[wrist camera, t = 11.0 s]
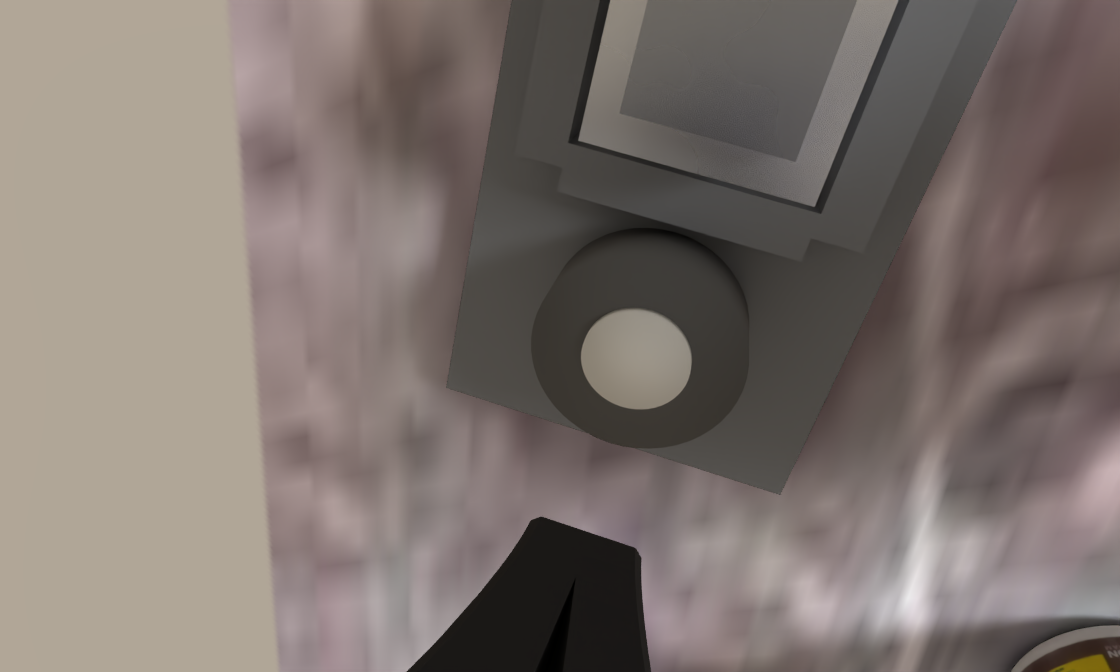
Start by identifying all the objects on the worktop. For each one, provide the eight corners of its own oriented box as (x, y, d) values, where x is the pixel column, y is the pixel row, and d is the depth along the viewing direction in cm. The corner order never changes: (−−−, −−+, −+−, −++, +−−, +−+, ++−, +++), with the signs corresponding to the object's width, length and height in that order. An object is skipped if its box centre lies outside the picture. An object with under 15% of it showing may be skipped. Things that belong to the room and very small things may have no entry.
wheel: (779, 262, 15) (783, 296, 13) (712, 432, 17) (708, 479, 15) (572, 202, 15) (553, 229, 14) (532, 375, 17) (510, 416, 16)
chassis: (1101, -218, 12) (1177, -257, 10) (778, 471, 19) (782, 534, 17) (583, -329, 13) (549, -388, 11) (459, 369, 20) (424, 417, 18)
